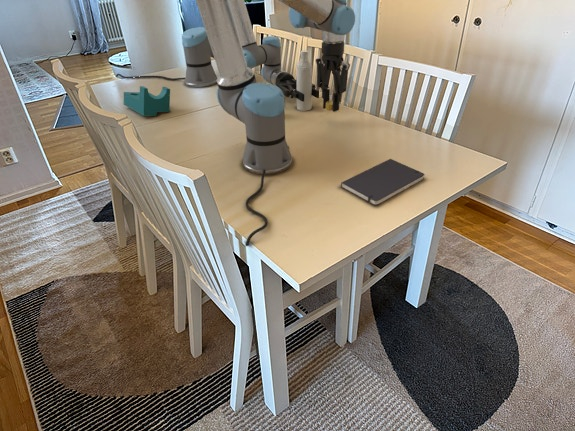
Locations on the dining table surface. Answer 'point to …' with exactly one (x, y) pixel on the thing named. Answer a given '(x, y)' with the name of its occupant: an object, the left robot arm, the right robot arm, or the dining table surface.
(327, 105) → the cap
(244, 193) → the dining table surface
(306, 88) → the bottle
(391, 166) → the notebook
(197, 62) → the left robot arm
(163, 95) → the teal notched cradle block
